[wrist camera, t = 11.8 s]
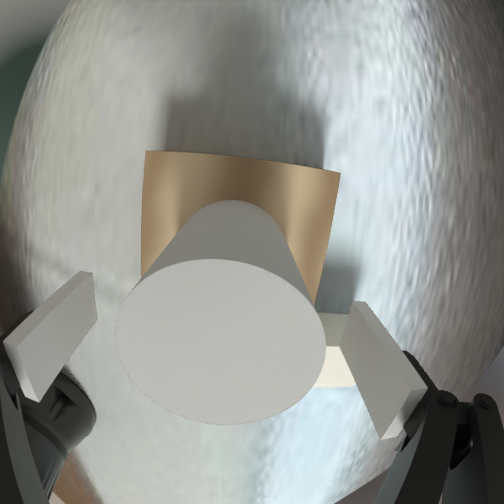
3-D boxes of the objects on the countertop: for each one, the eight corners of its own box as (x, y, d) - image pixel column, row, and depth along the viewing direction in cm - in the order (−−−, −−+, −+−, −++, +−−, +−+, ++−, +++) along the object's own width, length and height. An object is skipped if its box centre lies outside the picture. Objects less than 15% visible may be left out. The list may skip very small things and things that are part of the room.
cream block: (296, 349, 31) (305, 387, 25) (306, 311, 29) (318, 345, 24) (338, 351, 31) (353, 386, 26) (350, 314, 30) (370, 347, 24)
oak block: (157, 295, 28) (143, 321, 24) (164, 150, 24) (145, 150, 19) (296, 310, 29) (305, 339, 24) (323, 169, 25) (340, 173, 20)
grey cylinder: (190, 308, 23) (154, 426, 12) (167, 209, 21) (86, 275, 9) (291, 296, 23) (325, 412, 12) (280, 192, 20) (322, 242, 9)
